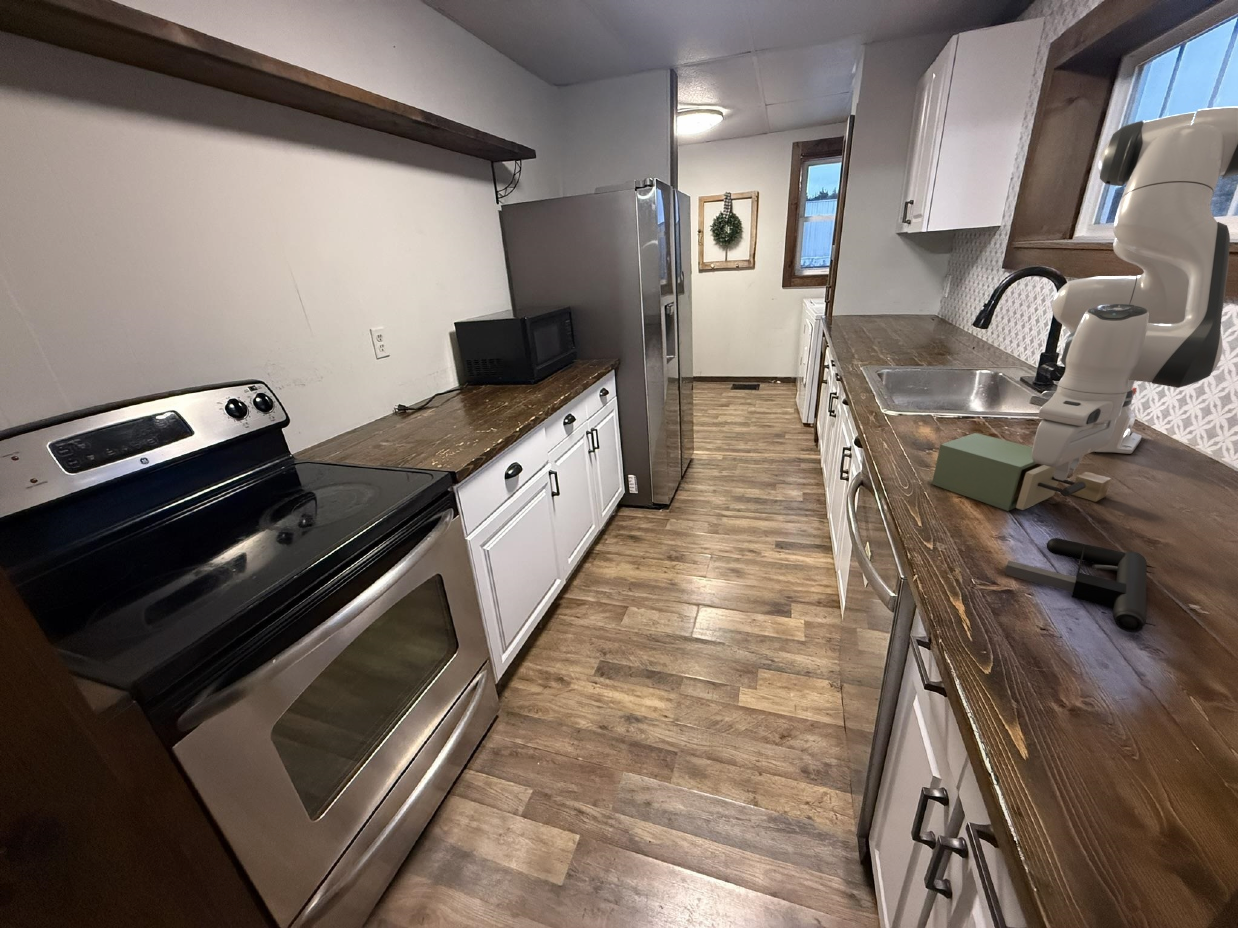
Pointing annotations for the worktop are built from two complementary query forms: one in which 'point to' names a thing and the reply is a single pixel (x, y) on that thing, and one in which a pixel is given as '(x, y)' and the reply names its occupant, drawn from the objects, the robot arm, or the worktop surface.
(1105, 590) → the door handle
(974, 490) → the cabinet
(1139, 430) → the worktop surface
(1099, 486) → the block
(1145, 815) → the worktop surface
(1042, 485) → the drawer
